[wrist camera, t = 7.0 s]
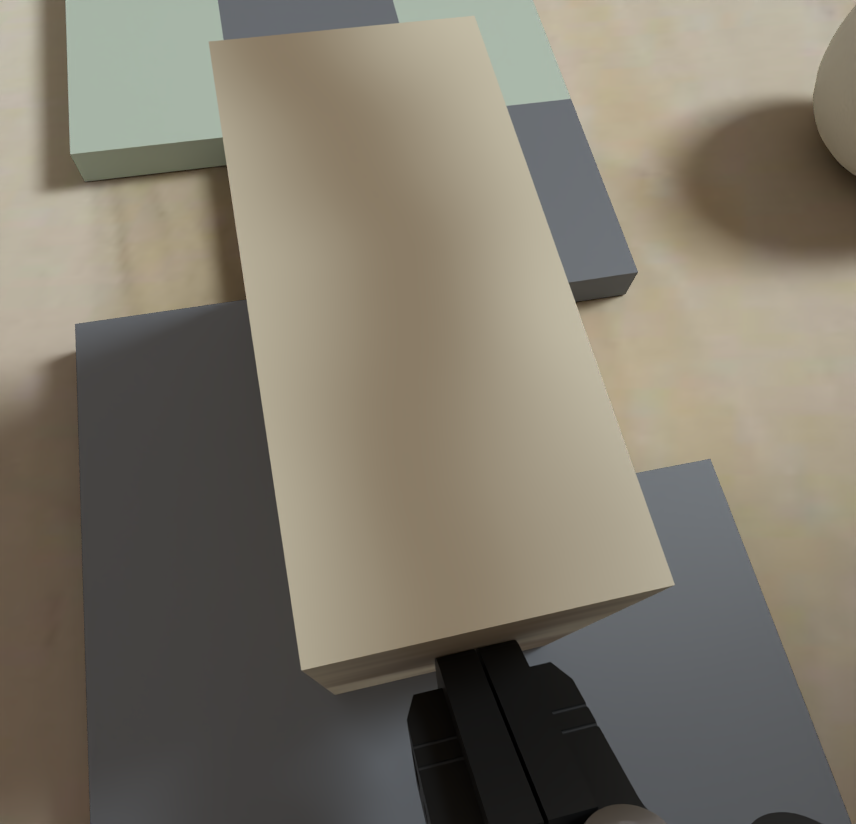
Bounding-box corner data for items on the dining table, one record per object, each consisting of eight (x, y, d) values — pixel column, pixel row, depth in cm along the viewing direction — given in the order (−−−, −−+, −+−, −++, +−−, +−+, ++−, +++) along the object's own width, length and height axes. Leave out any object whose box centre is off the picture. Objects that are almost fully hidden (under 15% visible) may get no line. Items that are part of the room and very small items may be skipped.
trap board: (479, -96, 30) (490, -180, 27) (950, 1162, 15) (1083, 1265, 12) (74, -69, 27) (41, -157, 25) (135, 1462, 12) (65, 1676, 10)
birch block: (439, 262, 21) (474, 15, 14) (545, 645, 17) (674, 584, 10) (268, 287, 20) (208, 41, 13) (334, 695, 16) (301, 670, 9)
